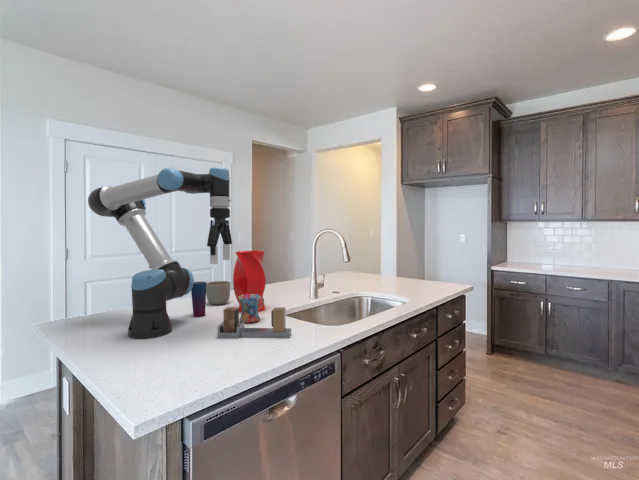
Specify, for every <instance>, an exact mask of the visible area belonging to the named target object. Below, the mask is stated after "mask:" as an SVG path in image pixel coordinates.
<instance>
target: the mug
mask: <svg viewBox="0 0 639 480" xmlns="http://www.w3.org/2000/svg"><path fill="white" fill-rule="evenodd" d="M238 298H239V300H240V303H241V308H242V313H241V312H240V313H241V315H240V316H239V322H240V323H241V322H242V321H244V324H246V323H247V324H250V323H256V322H258V321H260V319H261V317H260V315H259V312H258V310H259V309H260V308H261V307H262V305H263V303H264V304H265V299H264V297H263V298H262V297H261V296H260V295H257V294H246V295H241V296H239V297H238ZM260 298H262V299H263V302H262V304H261V306H260V307H259V308H258V303H259V299H260Z"/></svg>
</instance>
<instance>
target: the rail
mask: <svg viewBox="0 0 639 480" xmlns="http://www.w3.org/2000/svg"><path fill="white" fill-rule="evenodd" d="M286 316H287V315H286V307H281V306H280V307H279V306H277V307H275V306H274V308H272V310H271V315H270V317H271V327H245V322H244V321H242V322H241V321H240V322H239V324H238V326H237V330H236V331H224V321H222V322H221V323H220V324H219V325H218V326H217V333H216V335H217V339H240V338H251V339H252V338H257V339H259V338H260V339H261V338H263V339H264V338H265V339H267V338H268V339H269V338H270V339H273V338H274V339H289V338H290V337H291V335H292V327H291V328H290V327H288V328H287V327H286V326H287V325H286V322H287V321H286V320H287V318H286Z"/></svg>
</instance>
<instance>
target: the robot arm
mask: <svg viewBox="0 0 639 480" xmlns="http://www.w3.org/2000/svg"><path fill="white" fill-rule="evenodd" d="M230 181H231V179H230V170H229V169H228V168H226V167H217V166H214V167H210V168H209V171H208V173H194V172H189V171H184V170H180V169H177V168H169V167H168V168H163V169H161V171H159V172H158V173H157V174H155V175H151V176H147V177H144V178H141V179H140V178H139V179H136V180H134V181H130V182H129V181H128V182H125V183H123V184H119V185H115V186H112V185H105V186H101V187H98V188H95V189H94V190H93V191H91V192H90V193H89V195H88V198H87V199H88V200H87V204H88V206H89V209H90V210H91V212H93V213H95V214H96V215H98V216H100V217H105V218H106V217H108V218H109V217H110V218H115V220H116V221H117V223H118V224H119V225H120V226H122V227H125V229H126V230H127V232H128V233H129V235H130V236H131V238H132V239H133V241H134V243H135V244H136V246H137V247H138V249H139V251H140V253H141V254H142V255H143V258H144V259H145V260H146V262H147V263H148V265H149V267H150V268H151V269H149V270H142V271H139V272H136V273H135V274H134V275H132V277H131V286H130V287H131V303H132V305H131V308H132V315H131V319H130V322H129V324H128V327H127V337H130V338H132V339H150V338H157V337H162V336H164V335H168V334H169V333H170V332H172V330H173V325H172V321H171V319H170V316H169V314H168V311H167V301H171V300H174V299H177V298H182V297H184V296H186V295H188V294H189V293H190V292H191V290H192V288H193V283H194V282H195V279H194V278H195V277H194V275H193V273H192V271H191V270H190V269H188V268H186V267H182V266H181V264H180V262H178V261H177V260H173V259H172V257H171V256H170V254H169V253H168V251H167V250H166V248H165V246H164V245H163V244H162V242H161V240H160V238H159V237H158V236H157V233H155V231H154V229H153V228H152V226H151V224H150V223H149V222H148V220H147V218H146V214H147V211H146V209H147V207H146V204H147V203H146V200H148V199H151V198H155V197H157V196H162V195H165V194H169V193H173V192H174V193H175V192H184V193H186V194H191V195H192V194H193V195H196V194H207V193H208V194H209V207H210V209H209V216H210V218H211V220H210V223H209V224H210V225H209V232H208V237H207V242H206V247H208V248H209V257H210V258H209V264H211V265H218V264H219V255H218V254H219V249H218V246H217V245H218V243H219V242H218V241H219V239H220V236H221V240H222V243H223V244H222V260H223V261H230V260H231V245H232V244H233V241H232V234H231V229H230V228H231V227H230V221H229V219H230V217H231V209H230V205H231V204H230V203H231V202H232V200H231V199H230V197H231V195H230Z"/></svg>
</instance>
